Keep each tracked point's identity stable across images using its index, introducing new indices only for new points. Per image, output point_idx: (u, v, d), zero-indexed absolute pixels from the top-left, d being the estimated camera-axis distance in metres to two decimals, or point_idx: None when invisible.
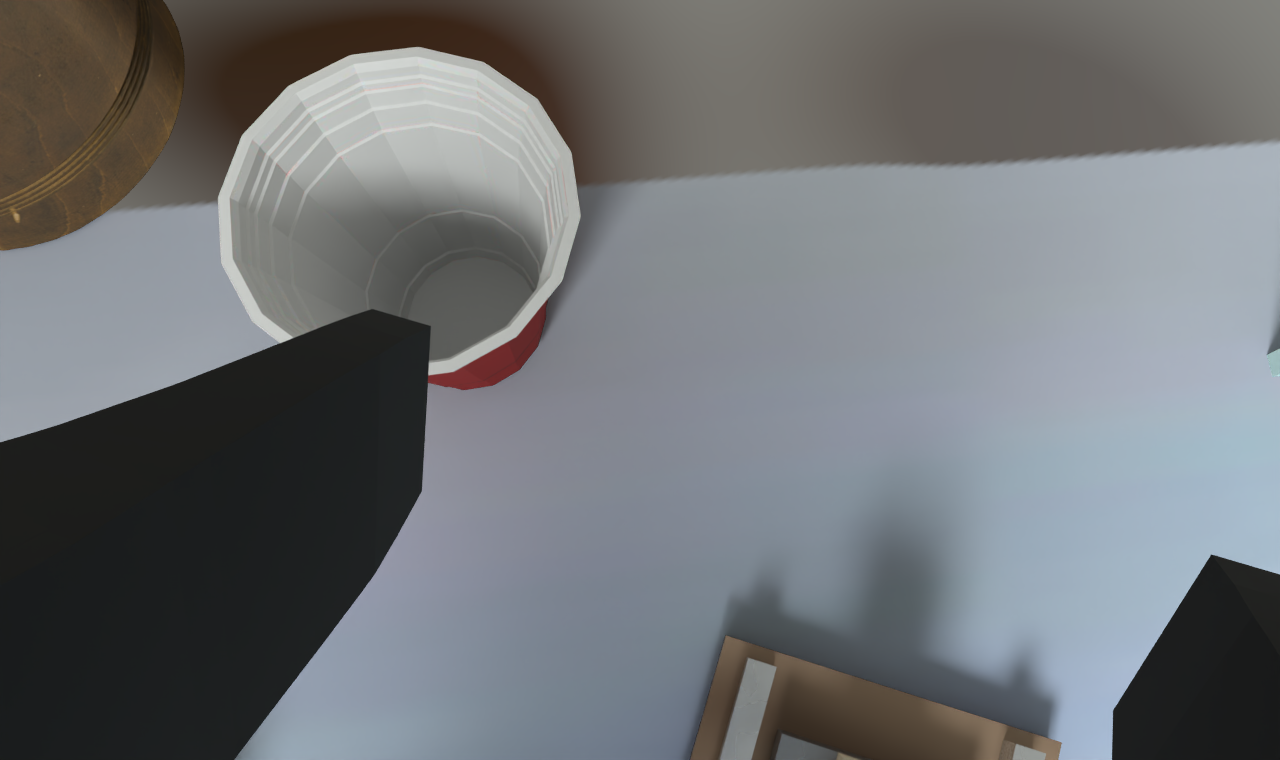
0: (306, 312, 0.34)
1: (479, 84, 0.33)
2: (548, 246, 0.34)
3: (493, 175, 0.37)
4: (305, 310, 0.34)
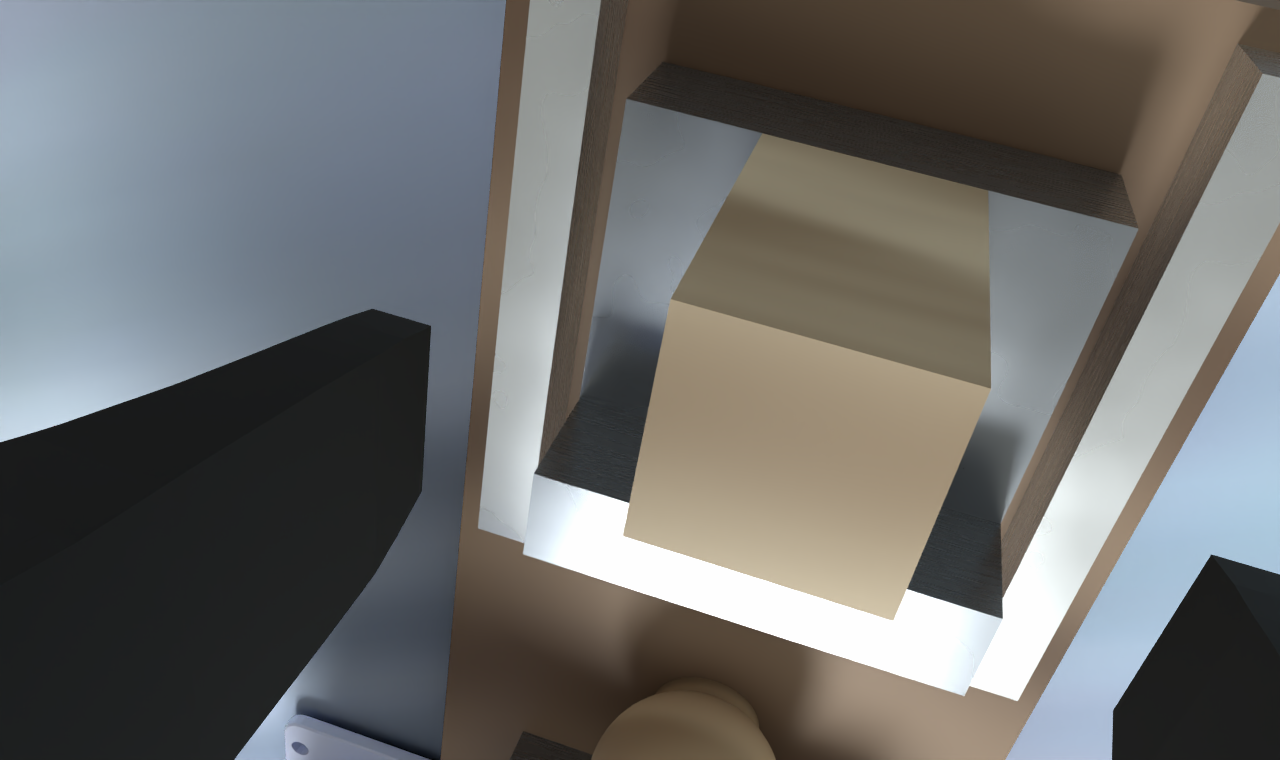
0: None
1: None
2: None
3: None
4: None
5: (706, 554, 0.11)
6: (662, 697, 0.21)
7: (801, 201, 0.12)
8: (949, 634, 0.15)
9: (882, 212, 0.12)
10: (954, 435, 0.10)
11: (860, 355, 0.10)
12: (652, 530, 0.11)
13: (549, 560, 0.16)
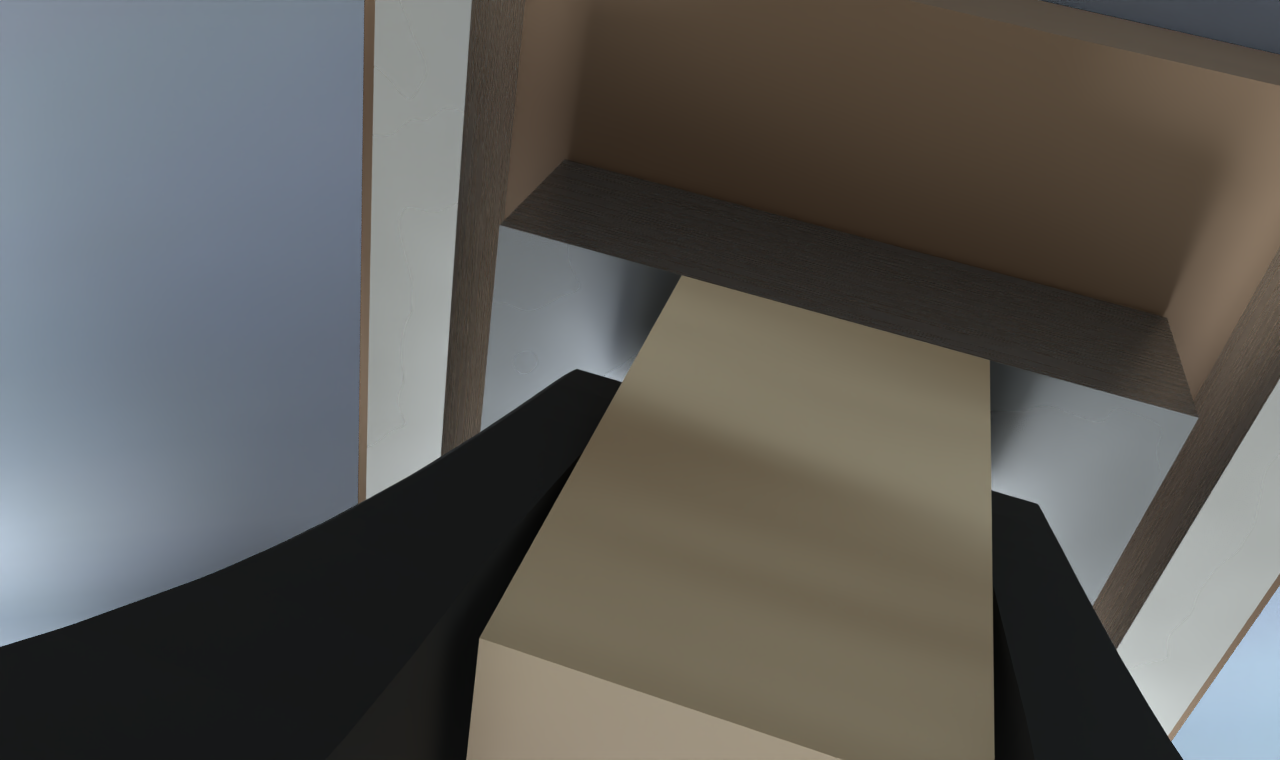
0: None
1: None
2: None
3: None
4: None
5: None
6: None
7: (721, 400, 0.09)
8: None
9: (839, 415, 0.09)
10: None
11: (781, 743, 0.06)
12: None
13: None
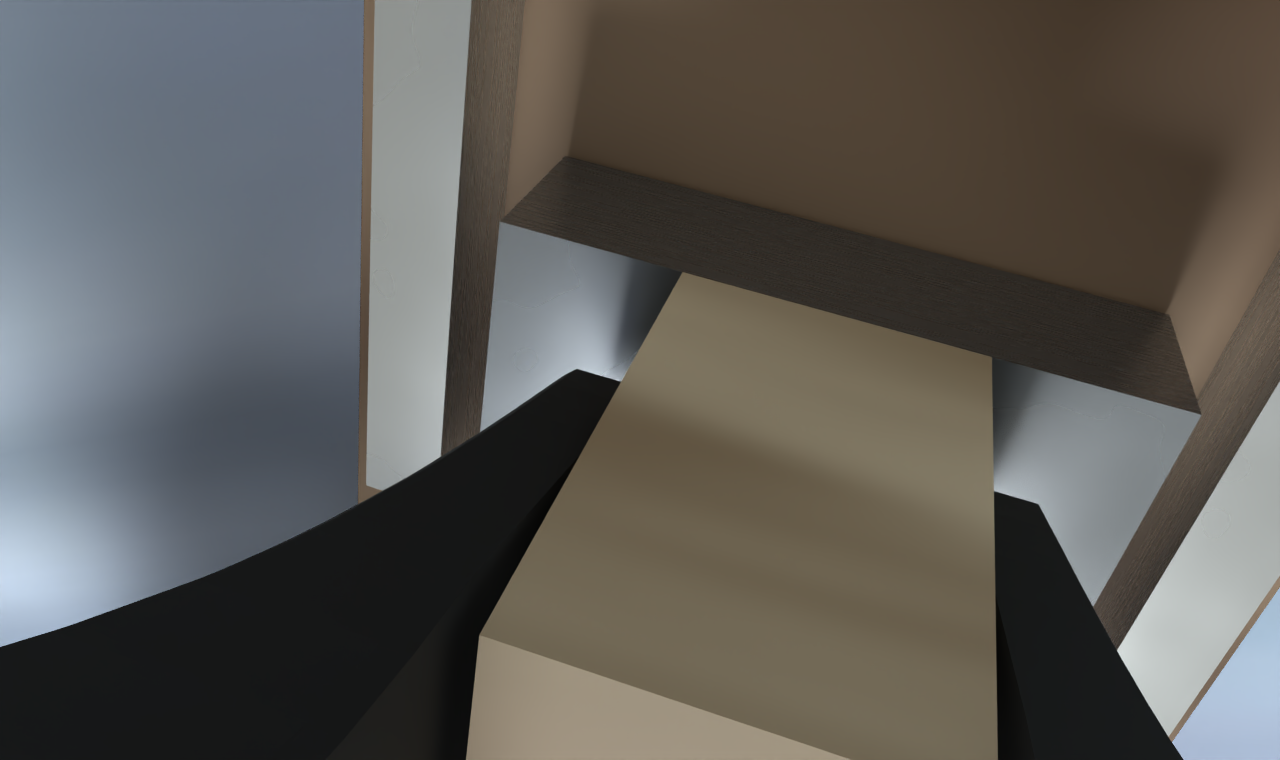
0: None
1: None
2: None
3: None
4: None
5: None
6: None
7: (721, 397, 0.08)
8: None
9: (839, 413, 0.09)
10: None
11: (784, 742, 0.06)
12: None
13: None
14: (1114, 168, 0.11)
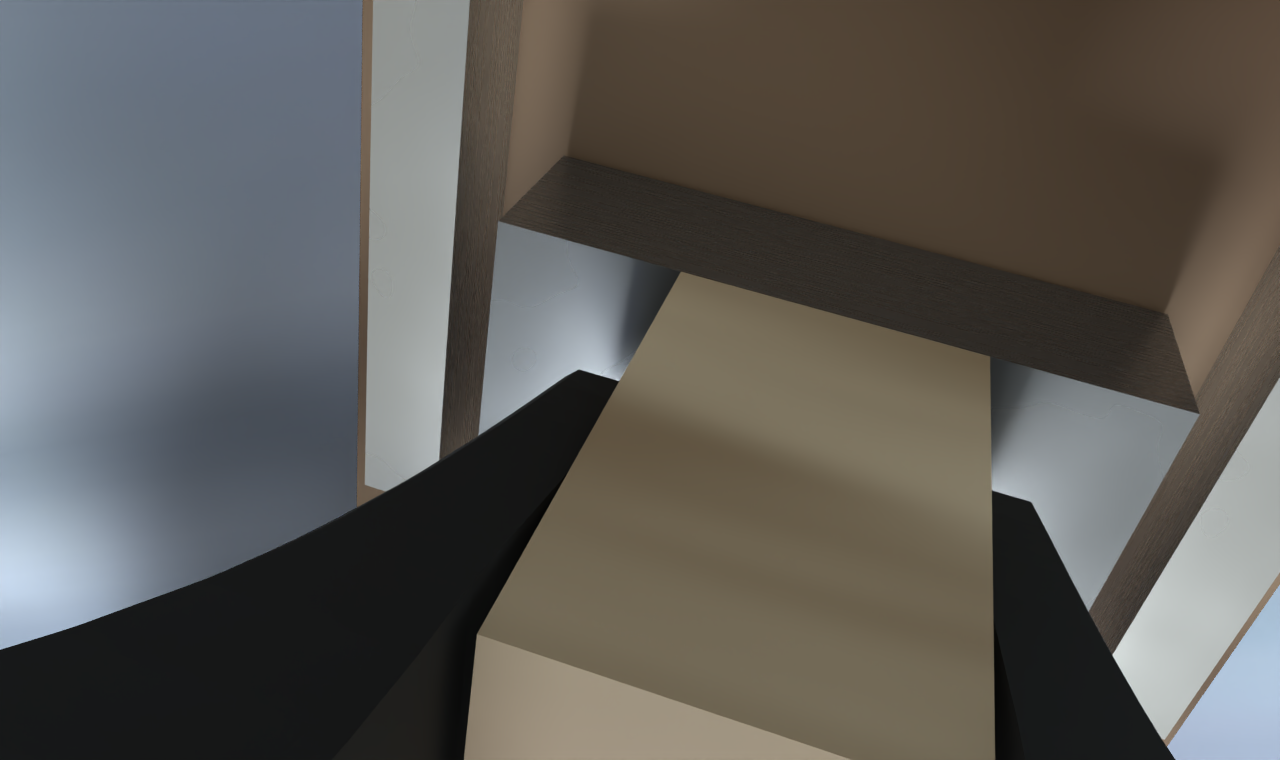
0: None
1: None
2: None
3: None
4: None
5: None
6: None
7: (720, 397, 0.08)
8: None
9: (838, 411, 0.09)
10: None
11: (782, 742, 0.06)
12: None
13: None
14: (1112, 167, 0.11)
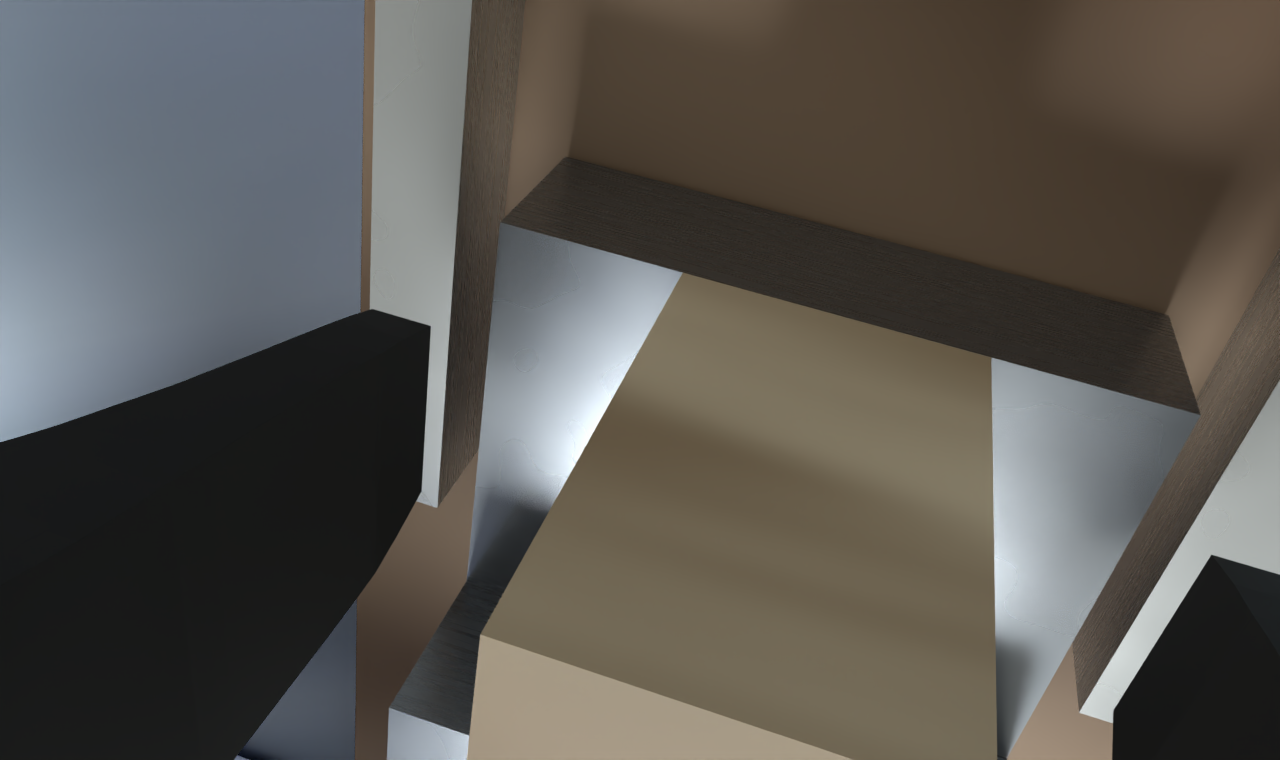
0: None
1: None
2: None
3: None
4: None
5: None
6: None
7: (722, 398, 0.09)
8: None
9: (840, 413, 0.09)
10: None
11: (783, 741, 0.06)
12: None
13: None
14: (1113, 169, 0.11)
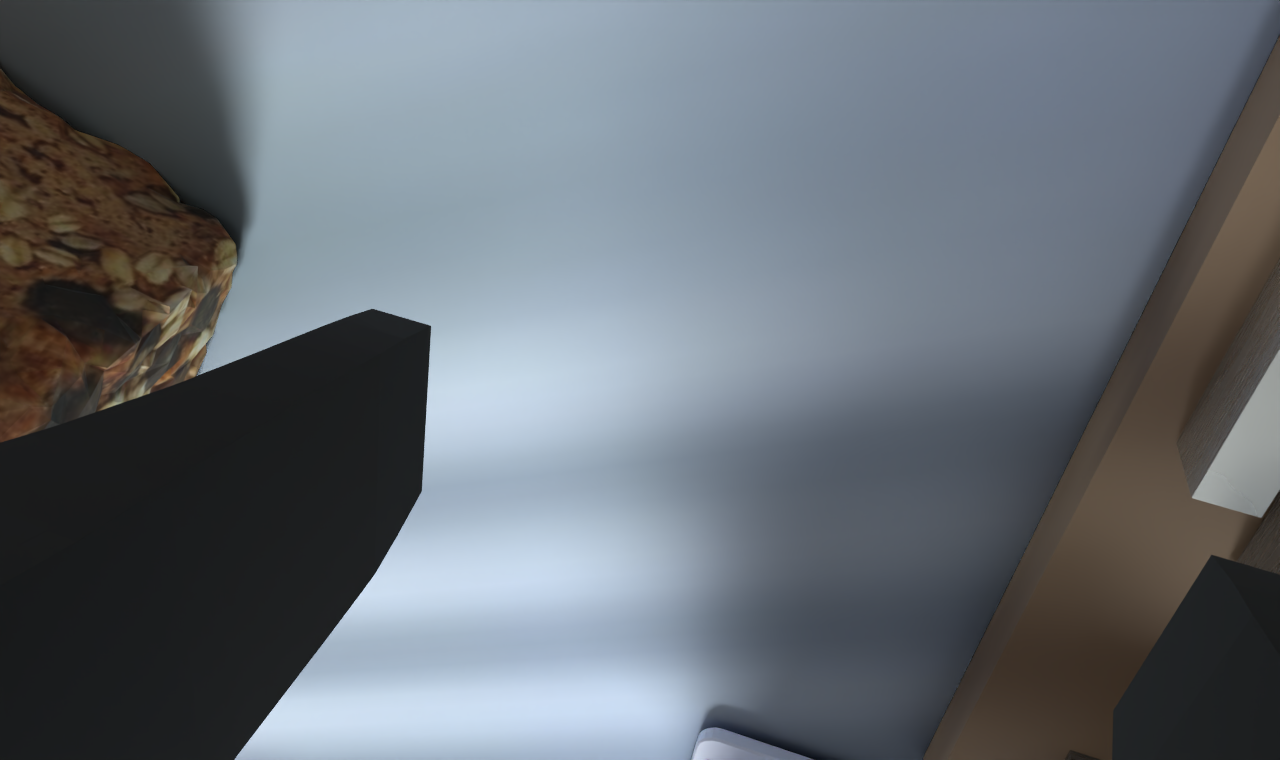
0: None
1: None
2: None
3: None
4: None
5: None
6: None
7: None
8: None
9: None
10: None
11: None
12: None
13: None
14: None
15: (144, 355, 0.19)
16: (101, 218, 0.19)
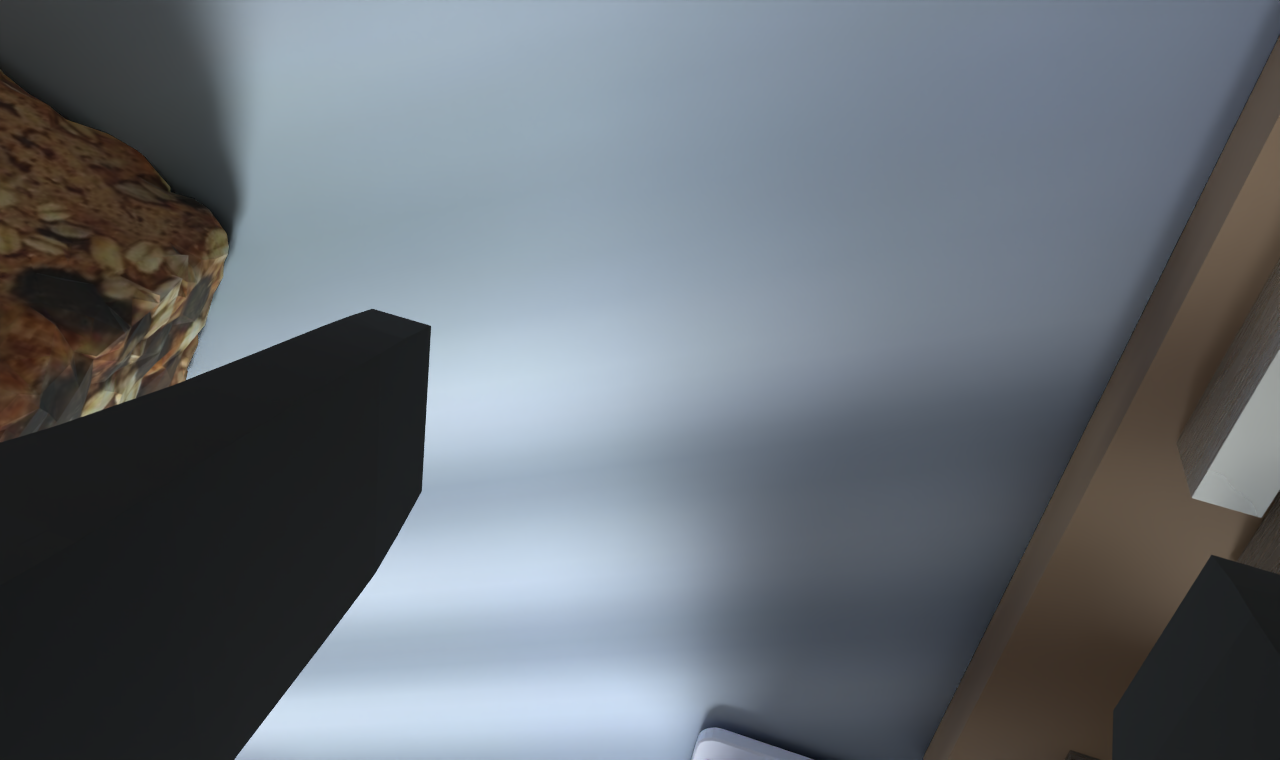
0: None
1: None
2: None
3: None
4: None
5: None
6: None
7: None
8: None
9: None
10: None
11: None
12: None
13: None
14: None
15: (134, 344, 0.19)
16: (92, 207, 0.19)
